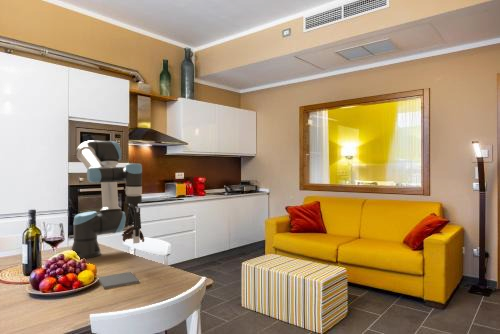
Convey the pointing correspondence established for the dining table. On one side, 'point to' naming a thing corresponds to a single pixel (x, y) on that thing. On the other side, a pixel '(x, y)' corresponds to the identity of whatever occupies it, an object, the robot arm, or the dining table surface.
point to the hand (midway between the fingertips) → (133, 240)
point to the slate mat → (118, 280)
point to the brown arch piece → (128, 234)
